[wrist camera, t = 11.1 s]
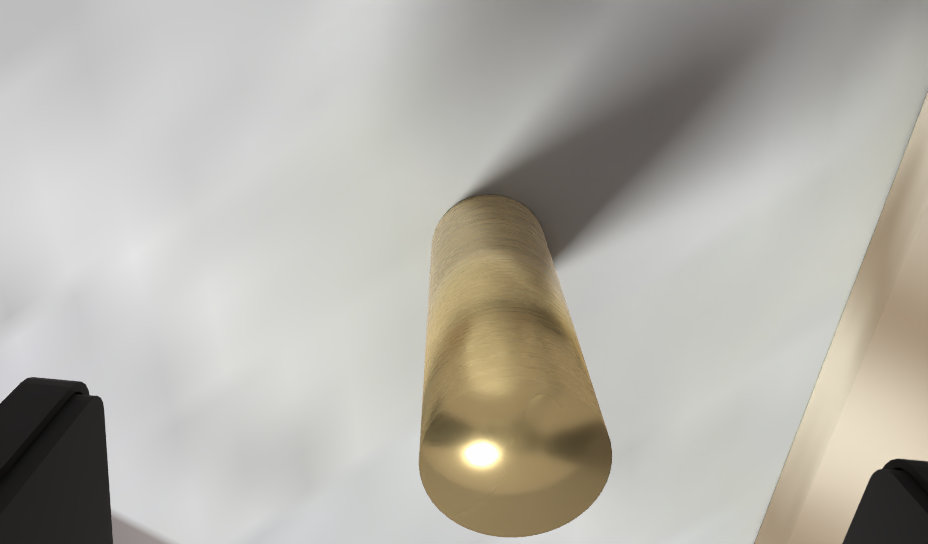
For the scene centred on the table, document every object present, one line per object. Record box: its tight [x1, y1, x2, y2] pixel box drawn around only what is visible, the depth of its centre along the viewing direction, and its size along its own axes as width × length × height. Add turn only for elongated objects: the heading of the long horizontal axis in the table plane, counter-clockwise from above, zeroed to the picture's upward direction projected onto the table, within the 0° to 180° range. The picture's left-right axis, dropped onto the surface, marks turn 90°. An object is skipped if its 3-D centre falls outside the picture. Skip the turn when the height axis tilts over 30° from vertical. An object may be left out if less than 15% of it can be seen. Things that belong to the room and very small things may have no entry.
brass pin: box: [419, 195, 612, 537], centre depth 12 cm, size 2×2×7 cm
